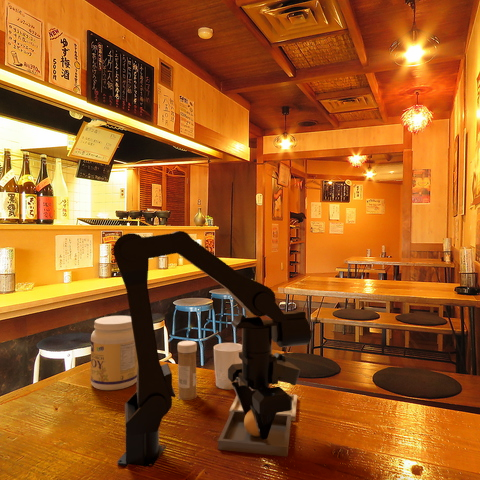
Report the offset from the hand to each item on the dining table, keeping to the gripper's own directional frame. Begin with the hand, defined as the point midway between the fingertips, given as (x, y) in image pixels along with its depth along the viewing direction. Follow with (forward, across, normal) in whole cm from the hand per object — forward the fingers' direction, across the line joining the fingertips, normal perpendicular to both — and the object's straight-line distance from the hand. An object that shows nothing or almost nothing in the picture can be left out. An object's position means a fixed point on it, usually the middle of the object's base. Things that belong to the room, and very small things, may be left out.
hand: (256, 429), depth 74 cm
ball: (+1, 0, 0) cm, 1 cm away
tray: (+2, +11, -6) cm, 13 cm away
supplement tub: (+2, +39, +25) cm, 46 cm away
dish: (+2, 0, 0) cm, 2 cm away
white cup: (+2, +27, -3) cm, 27 cm away
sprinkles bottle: (+2, +22, +9) cm, 24 cm away
